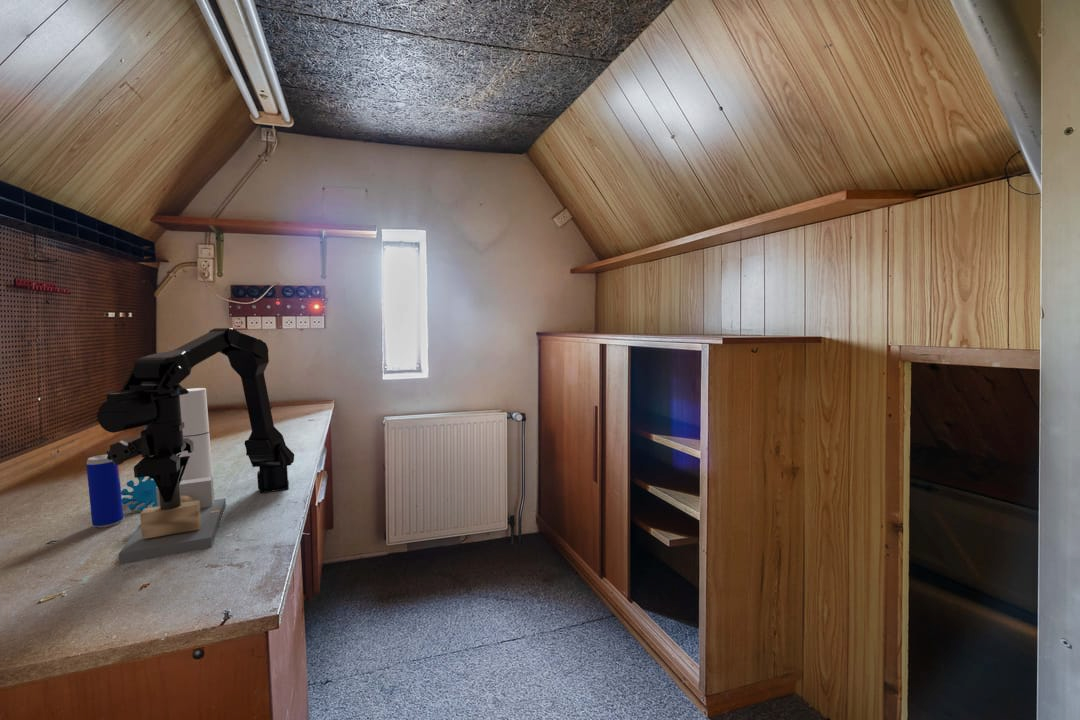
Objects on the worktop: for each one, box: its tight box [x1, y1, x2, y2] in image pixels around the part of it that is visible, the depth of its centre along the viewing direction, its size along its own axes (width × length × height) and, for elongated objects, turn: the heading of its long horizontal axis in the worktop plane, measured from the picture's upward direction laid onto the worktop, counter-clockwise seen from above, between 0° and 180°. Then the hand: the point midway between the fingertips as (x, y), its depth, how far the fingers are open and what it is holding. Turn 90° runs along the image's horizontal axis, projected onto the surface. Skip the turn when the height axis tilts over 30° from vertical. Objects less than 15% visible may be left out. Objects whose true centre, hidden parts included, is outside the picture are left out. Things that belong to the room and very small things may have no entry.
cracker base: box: [117, 476, 227, 565], centre depth 103 cm, size 14×24×8 cm, turn 27°
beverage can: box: [85, 453, 124, 528], centre depth 107 cm, size 5×5×15 cm
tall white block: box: [179, 387, 213, 481], centre depth 139 cm, size 7×7×25 cm
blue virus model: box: [121, 477, 157, 512], centre depth 119 cm, size 11×6×10 cm
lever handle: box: [139, 481, 201, 539], centre depth 97 cm, size 9×3×11 cm, turn 117°
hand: (170, 498), depth 97 cm, fingers open, 3 cm apart
